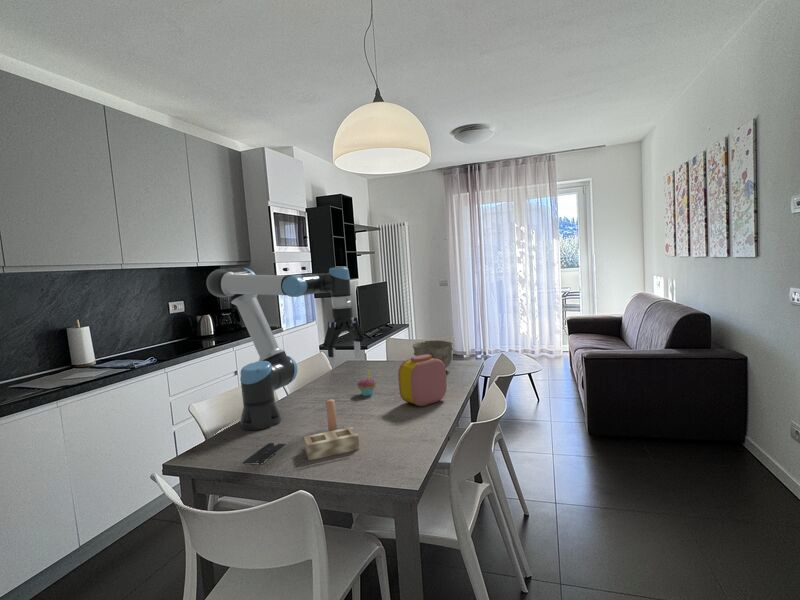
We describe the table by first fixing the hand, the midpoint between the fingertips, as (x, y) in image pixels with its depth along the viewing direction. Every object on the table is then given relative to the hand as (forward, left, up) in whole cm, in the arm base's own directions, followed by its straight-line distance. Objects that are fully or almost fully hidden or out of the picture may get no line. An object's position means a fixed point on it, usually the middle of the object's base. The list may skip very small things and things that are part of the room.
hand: (346, 361), depth 169 cm
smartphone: (-33, -20, -23) cm, 45 cm away
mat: (-10, -16, -22) cm, 29 cm away
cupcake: (+14, +24, -22) cm, 35 cm away
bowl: (+57, +44, -22) cm, 75 cm away
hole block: (-13, -29, -22) cm, 39 cm away
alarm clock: (+32, 0, -22) cm, 39 cm away
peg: (-10, -16, -22) cm, 29 cm away
